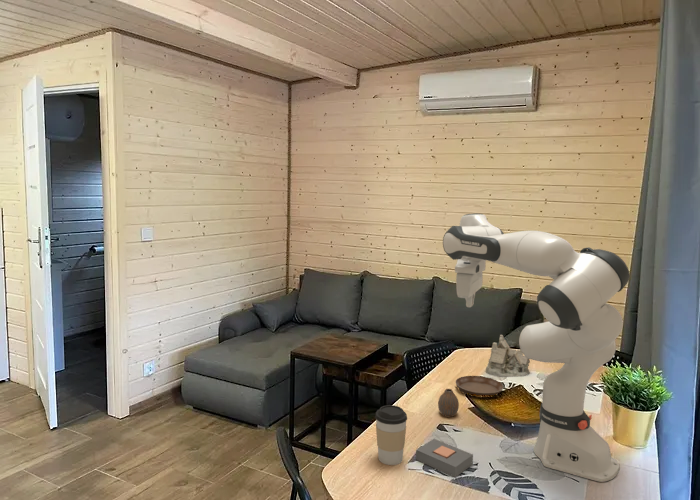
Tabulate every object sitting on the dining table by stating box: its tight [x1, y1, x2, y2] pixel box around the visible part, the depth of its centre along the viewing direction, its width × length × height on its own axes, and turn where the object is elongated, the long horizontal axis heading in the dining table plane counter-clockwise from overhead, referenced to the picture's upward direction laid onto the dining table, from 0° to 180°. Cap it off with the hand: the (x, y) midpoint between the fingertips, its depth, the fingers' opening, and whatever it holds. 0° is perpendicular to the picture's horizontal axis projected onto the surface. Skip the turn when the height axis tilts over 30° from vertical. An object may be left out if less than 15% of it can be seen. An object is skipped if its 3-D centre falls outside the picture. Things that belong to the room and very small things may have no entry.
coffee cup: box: [375, 404, 408, 466], centre depth 146 cm, size 9×9×15 cm
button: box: [433, 446, 455, 458], centre depth 145 cm, size 4×4×3 cm
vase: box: [437, 388, 460, 418], centre depth 175 cm, size 7×7×9 cm
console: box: [415, 438, 474, 478], centre depth 145 cm, size 13×9×3 cm
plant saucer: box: [455, 375, 504, 395], centre depth 197 cm, size 18×18×3 cm
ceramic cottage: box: [485, 334, 531, 378], centre depth 216 cm, size 16×16×15 cm
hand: (469, 306), depth 166 cm, fingers closed
